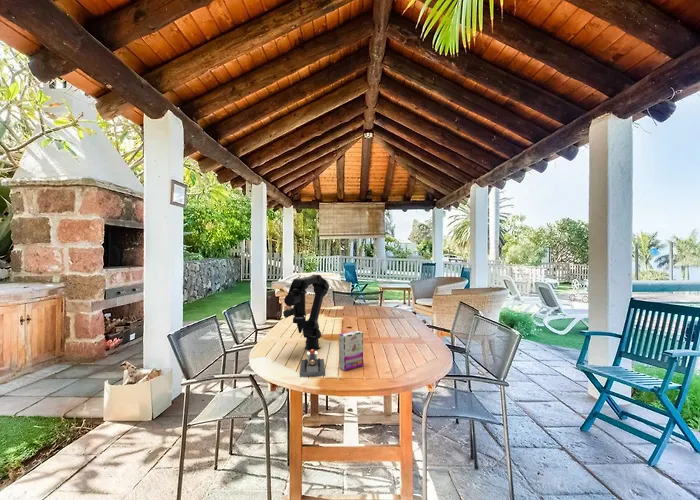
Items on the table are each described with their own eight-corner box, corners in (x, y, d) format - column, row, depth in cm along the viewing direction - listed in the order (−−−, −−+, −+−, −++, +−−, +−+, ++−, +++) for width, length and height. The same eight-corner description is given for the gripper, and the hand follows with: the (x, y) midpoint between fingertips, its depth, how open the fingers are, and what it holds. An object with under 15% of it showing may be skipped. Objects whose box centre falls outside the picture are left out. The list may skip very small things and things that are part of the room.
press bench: (301, 363, 166) (301, 349, 166) (323, 362, 167) (323, 348, 167) (299, 377, 149) (299, 361, 149) (324, 376, 151) (324, 360, 150)
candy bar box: (357, 363, 166) (357, 329, 166) (363, 366, 162) (363, 332, 162) (338, 368, 160) (338, 333, 160) (344, 371, 156) (344, 335, 156)
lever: (308, 361, 158) (307, 347, 153) (316, 361, 158) (316, 347, 154) (308, 365, 156) (307, 352, 151) (316, 365, 156) (316, 352, 151)
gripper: (285, 300, 186) (285, 328, 186) (282, 306, 167) (282, 338, 167) (306, 299, 187) (306, 328, 187) (305, 306, 168) (305, 337, 169)
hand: (299, 332), depth 178 cm, fingers closed
